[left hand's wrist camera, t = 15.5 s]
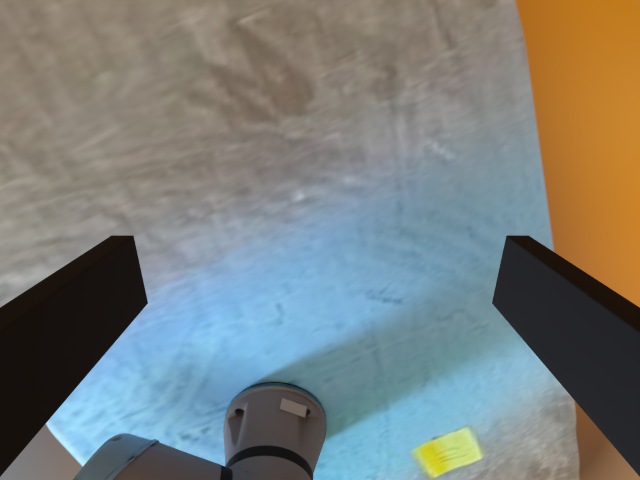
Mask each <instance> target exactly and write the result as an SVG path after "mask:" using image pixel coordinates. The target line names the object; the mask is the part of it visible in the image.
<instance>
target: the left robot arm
mask: <svg viewBox="0 0 640 480" xmlns="http://www.w3.org/2000/svg"><path fill="white" fill-rule="evenodd" d="M147 304H148V302H147V297H146V292H145V288H144V283H143V278H142V274H141V269H140V264H139V260H138V255H137V250H136V246H135V241H134V236H110V237H109V238H107V239H106V240H104V241H103V242H101V243H100V244H98V245H96V246H95V247H93V248H92V249H90V250H89V251H87V252H86V253H84V254H83V255H81V256H79V257H78V258H76V259H75V260H73V261H72V262H70V263H69V264H67V265H66V266H64V267H62V268H61V269H59V270H58V271H56V272H55V273H53V274H52V275H50V276H49V277H47V278H45V279H44V280H42V281H41V282H39V283H38V284H36V285H35V286H33V287H32V288H30V289H28V290H27V291H25V292H24V293H22V294H21V295H19V296H18V297H16V298H15V299H13V300H11V301H10V302H8V303H7V304H5V305H4V306H2V307H1V308H0V476H1V475H2V474H3V473H4V472H5V470H6V469H7V468H8V467H9V466H10V464H11V463H12V462H13V461H14V460H15V459H16V457H17V456H18V455H19V454H20V453H21V452H22V450H23V449H24V448H25V447H26V446H27V445H28V443H29V442H30V441H31V440H32V439H33V438H34V436H35V435H36V434H37V433H38V432H39V430H40V429H41V428H42V427H43V426H44V425H45V423H46V422H47V421H48V420H49V419H50V418H51V416H52V415H53V414H54V413H55V412H56V410H57V409H58V408H59V407H60V406H61V405H62V403H63V402H64V401H65V400H66V399H67V398H68V396H69V395H70V394H71V393H72V392H73V391H74V389H75V388H76V387H77V386H78V385H79V383H80V382H81V381H82V380H83V379H84V378H85V376H86V375H87V374H88V373H89V372H90V371H91V369H92V368H93V367H94V366H95V365H96V363H97V362H98V361H99V360H100V359H101V358H102V356H103V355H104V354H105V353H106V352H107V351H108V349H109V348H110V347H111V346H112V345H113V344H114V342H115V341H116V340H117V339H118V338H119V336H120V335H121V334H122V333H123V332H124V331H125V329H126V328H127V327H128V326H129V325H130V324H131V322H132V321H133V320H134V319H135V318H136V316H137V315H138V314H139V313H140V312H141V311H142V309H143V308H144V307H145V306H146V305H147ZM492 304H493V305H494V306H495V307H496V308H497V309H498V311H499V312H500V313H501V314H502V315H503V316H504V318H505V319H506V320H507V321H508V322H509V324H510V325H511V326H512V327H513V328H514V329H515V331H516V332H517V333H518V334H519V335H520V336H521V338H522V339H523V340H524V341H525V342H526V344H527V345H528V346H529V347H530V348H531V349H532V351H533V352H534V353H535V354H536V355H537V356H538V358H539V359H540V360H541V361H542V362H543V363H544V365H545V366H546V367H547V368H548V369H549V371H550V372H551V373H552V374H553V375H554V376H555V378H556V379H557V380H558V381H559V382H560V383H561V385H562V386H563V387H564V388H565V389H566V391H567V392H568V393H569V394H570V395H571V396H572V398H573V399H574V400H575V401H576V402H577V403H578V405H579V406H580V407H581V408H582V409H583V410H584V412H585V413H586V414H587V415H588V416H589V418H590V419H591V420H592V421H593V422H594V423H595V425H596V426H597V427H598V428H599V429H600V430H601V432H602V433H603V434H604V435H605V436H606V438H607V439H608V440H609V441H610V442H611V443H612V445H613V446H614V447H615V448H616V449H617V450H618V452H619V453H620V454H621V455H622V456H623V457H624V459H625V460H626V461H627V462H628V463H629V465H630V466H631V467H632V468H633V469H634V470H635V472H636V473H637V474H638V475H639V476H640V308H639V307H638V306H636V305H635V304H633V303H632V302H630V301H629V300H627V299H625V298H624V297H622V296H621V295H619V294H618V293H616V292H615V291H613V290H611V289H610V288H608V287H607V286H605V285H604V284H602V283H601V282H599V281H598V280H596V279H594V278H593V277H591V276H590V275H588V274H587V273H585V272H584V271H582V270H581V269H579V268H577V267H576V266H574V265H573V264H571V263H570V262H568V261H567V260H565V259H564V258H562V257H561V256H559V255H557V254H556V253H554V252H553V251H551V250H550V249H548V248H547V247H545V246H544V245H542V244H540V243H539V242H537V241H536V240H534V239H533V238H531V237H530V236H506V241H505V246H504V250H503V255H502V260H501V264H500V269H499V274H498V278H497V283H496V288H495V292H494V297H493V302H492ZM325 434H326V416H325V412H324V410H323V408H322V406H321V404H320V403H319V402H318V400H317V399H316V398H315V397H313V396H312V395H311V394H310V393H308V392H306V391H305V390H303V389H301V388H298V387H296V386H292V385H289V384H283V383H265V384H259V385H255V386H252V387H250V388H248V389H246V390H244V391H242V392H241V393H239V394H238V395H237V396H236V397H235V398H234V399H233V400H232V402H231V403H230V405H229V407H228V410H227V413H226V416H225V420H224V446H225V461H226V465H225V467H224V466H222V465H220V464H217V463H214V462H211V461H208V460H205V459H203V458H200V457H197V456H194V455H191V454H188V453H186V452H183V451H180V450H177V449H175V448H172V447H170V446H167V445H164V444H162V443H159V441H158V440H155V439H154V440H149V439H145V438H142V437H138V436H135V435H132V434H126V433H124V434H119V435H116V436H114V437H112V438H110V439H109V440H108V441H106V442H105V443H104V444H103V445H102V446H101V447H100V448H99V449H98V450H97V451H96V452H95V453H94V454H93V456H92V457H91V458H90V459H89V460H88V461H87V463H86V464H85V465H84V466H83V468H82V469H81V470H80V471H79V473H78V474H77V475H76V476H75V478H74V479H73V480H313V472H314V469H315V466H316V464H317V461H318V458H319V455H320V452H321V449H322V446H323V443H324V440H325Z"/></svg>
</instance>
